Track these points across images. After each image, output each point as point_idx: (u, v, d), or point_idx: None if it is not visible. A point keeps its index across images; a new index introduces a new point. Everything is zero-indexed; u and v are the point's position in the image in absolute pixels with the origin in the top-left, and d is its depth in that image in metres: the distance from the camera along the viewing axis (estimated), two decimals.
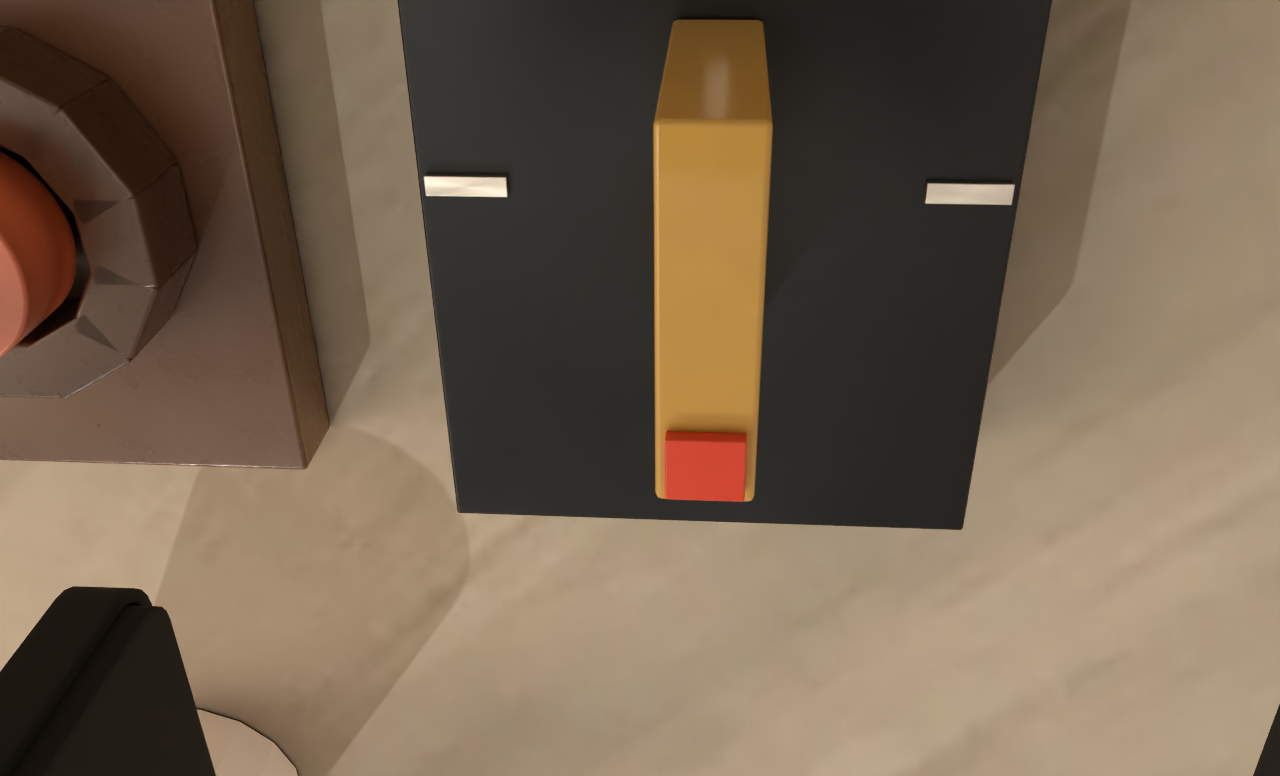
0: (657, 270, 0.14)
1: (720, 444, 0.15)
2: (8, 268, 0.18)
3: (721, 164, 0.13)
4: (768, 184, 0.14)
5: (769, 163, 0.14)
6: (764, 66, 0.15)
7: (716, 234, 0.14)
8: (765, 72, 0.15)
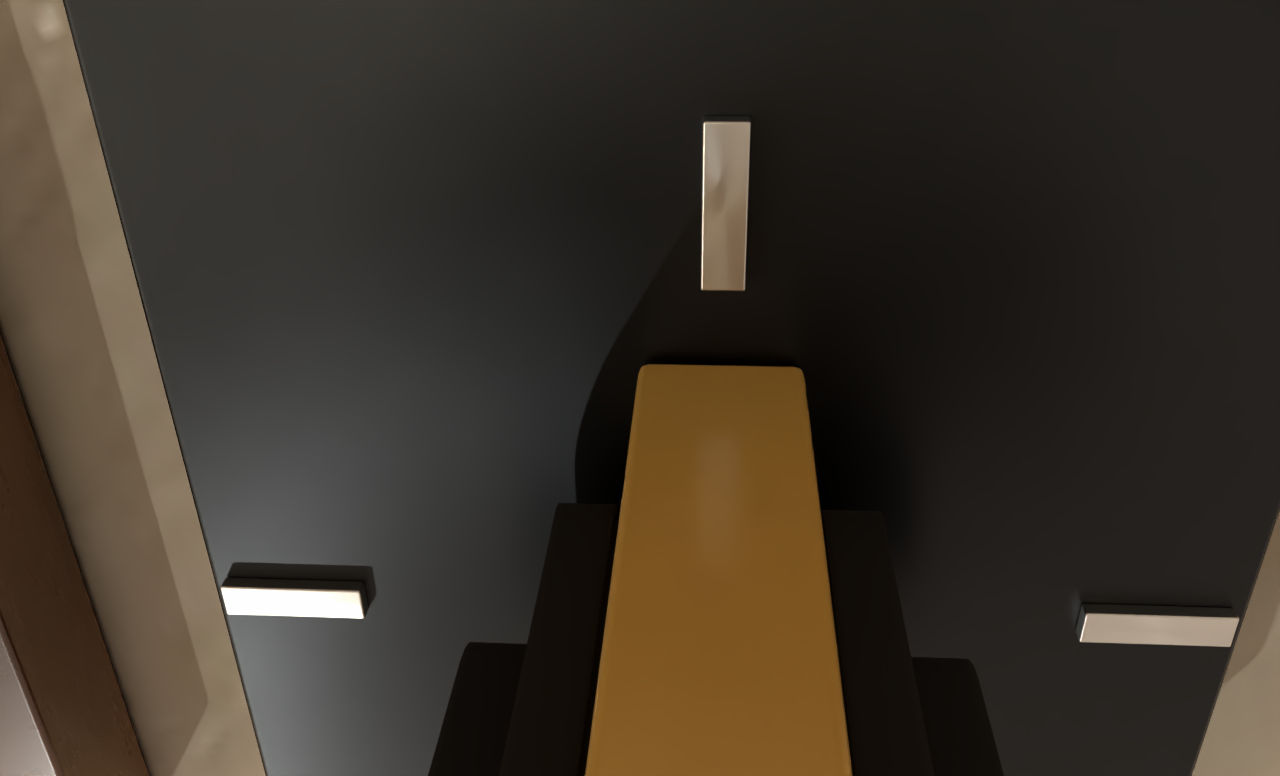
0: None
1: None
2: None
3: None
4: None
5: None
6: (820, 561, 0.07)
7: None
8: (824, 591, 0.07)
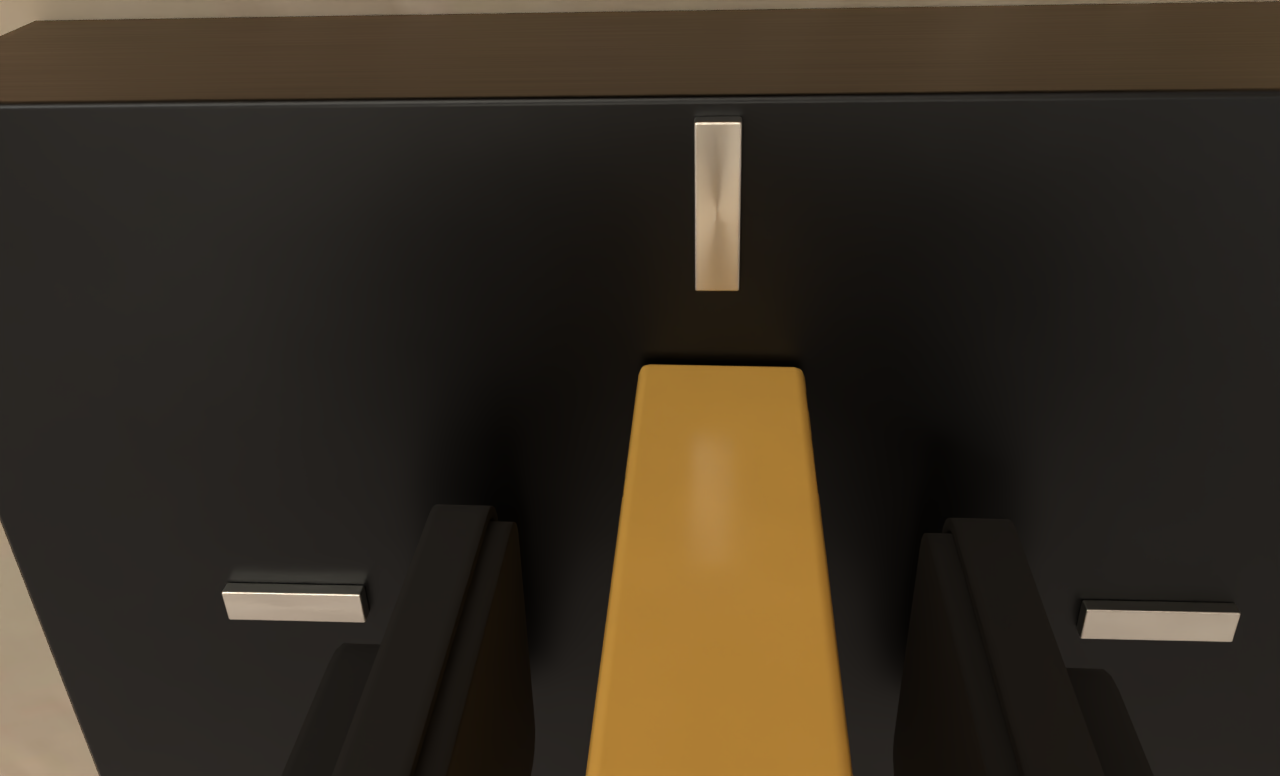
0: None
1: None
2: None
3: None
4: None
5: None
6: (820, 561, 0.07)
7: None
8: (825, 590, 0.07)
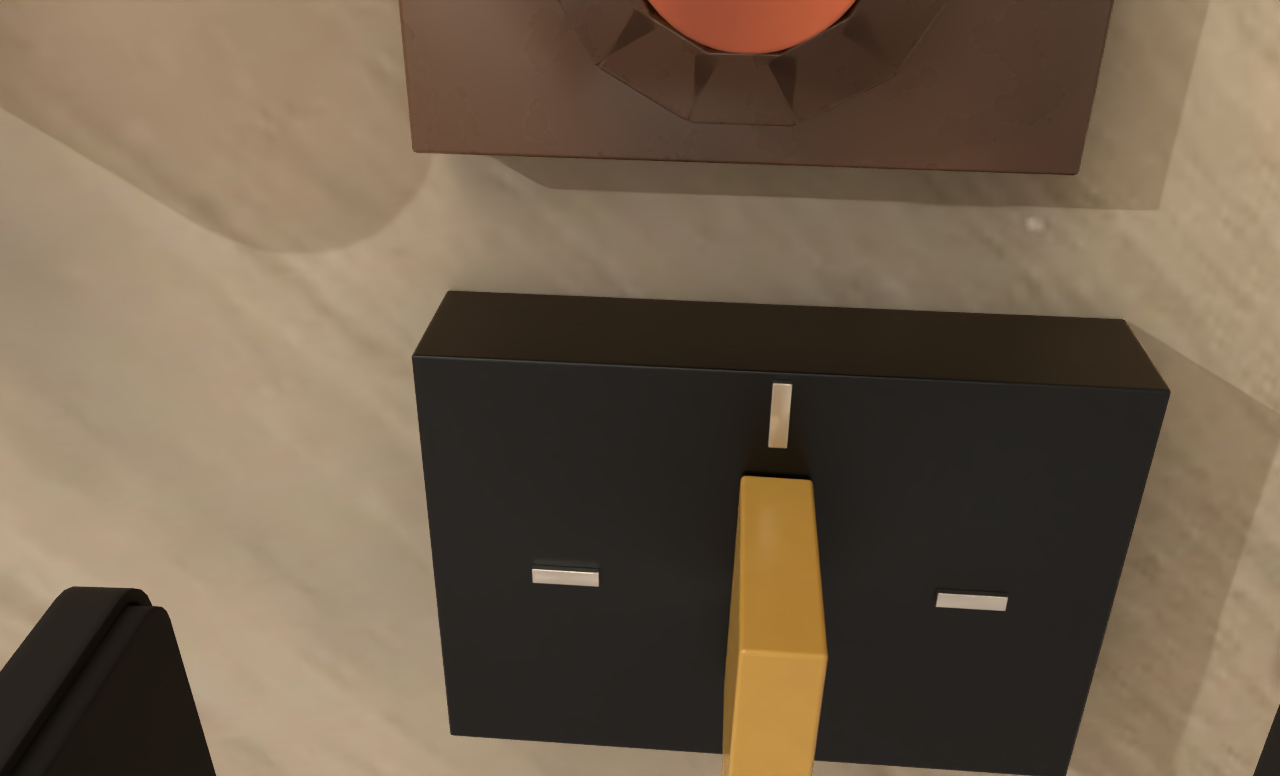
0: (734, 738, 0.19)
1: None
2: (758, 42, 0.16)
3: (787, 679, 0.18)
4: (822, 693, 0.18)
5: (823, 680, 0.18)
6: (817, 563, 0.20)
7: (780, 720, 0.18)
8: (818, 573, 0.20)
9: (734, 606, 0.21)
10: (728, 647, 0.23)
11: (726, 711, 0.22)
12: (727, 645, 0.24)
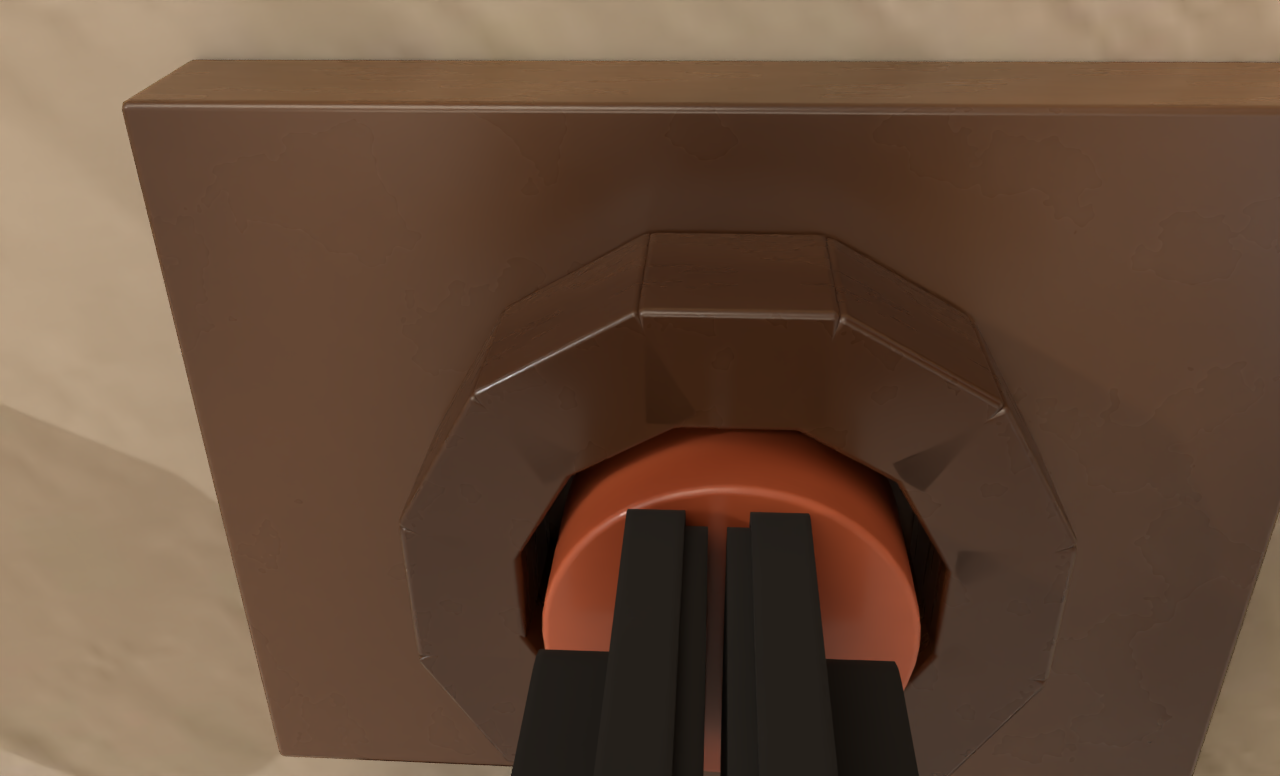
0: None
1: None
2: None
3: None
4: None
5: None
6: None
7: None
8: None
9: None
10: None
11: None
12: None
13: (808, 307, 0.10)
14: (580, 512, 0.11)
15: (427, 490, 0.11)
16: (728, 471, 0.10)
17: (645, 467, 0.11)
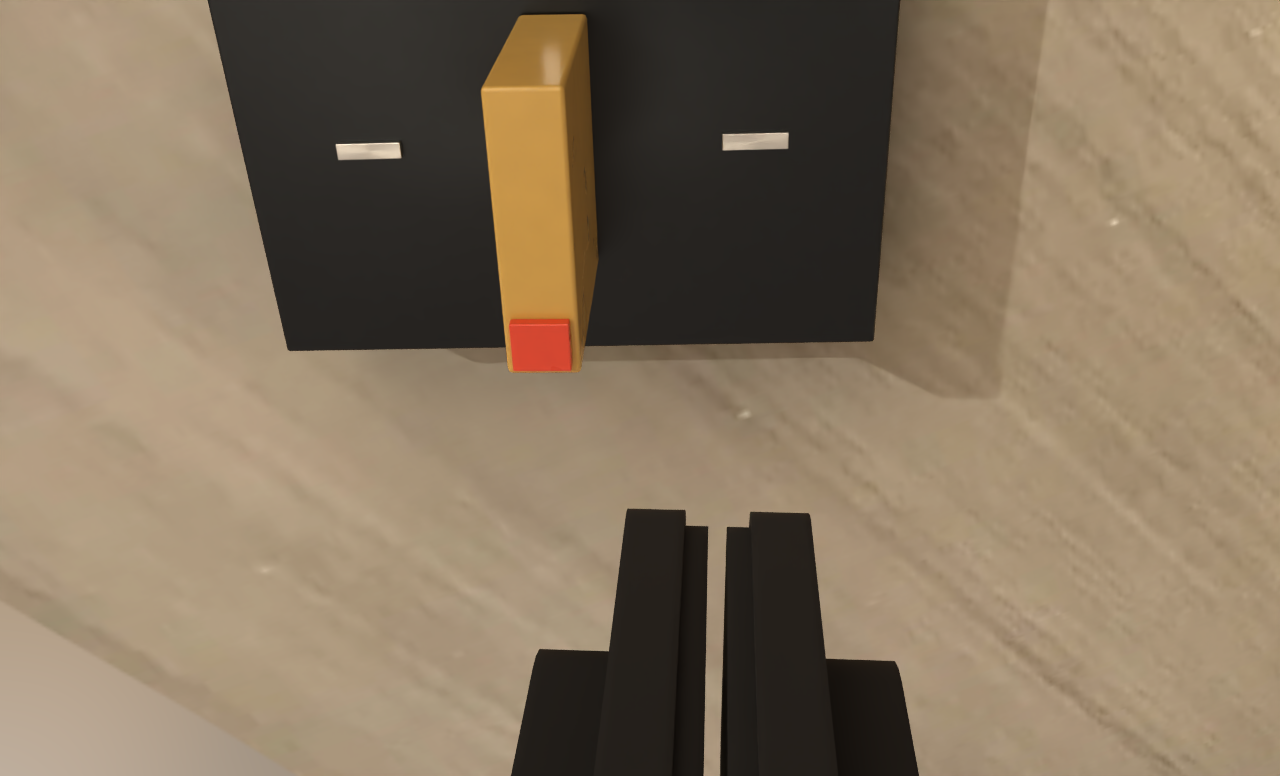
0: (493, 197, 0.20)
1: (549, 327, 0.21)
2: None
3: (529, 118, 0.19)
4: (565, 131, 0.19)
5: (564, 116, 0.19)
6: (573, 48, 0.21)
7: (532, 169, 0.19)
8: (572, 52, 0.21)
9: None
10: None
11: None
12: None
13: None
14: None
15: None
16: None
17: None
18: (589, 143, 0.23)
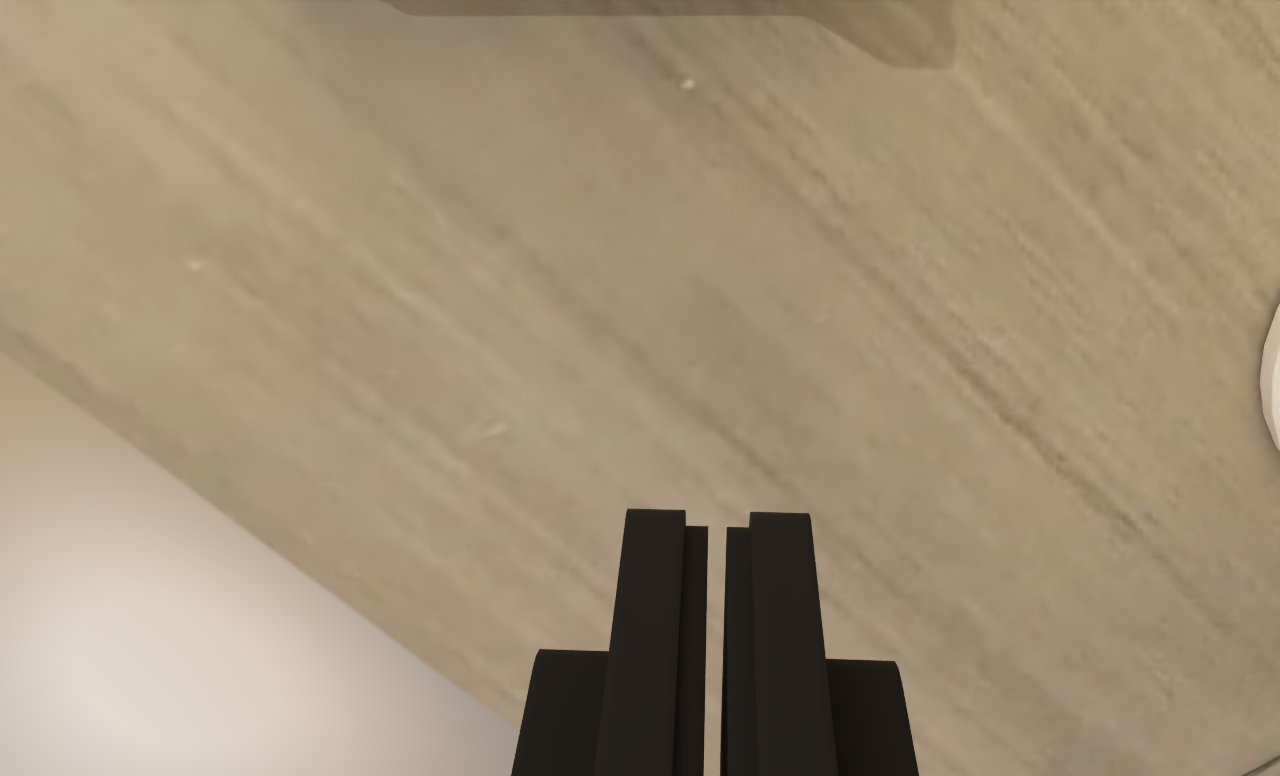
0: None
1: None
2: None
3: None
4: None
5: None
6: None
7: None
8: None
9: None
10: None
11: None
12: None
13: None
14: None
15: None
16: None
17: None
18: None
